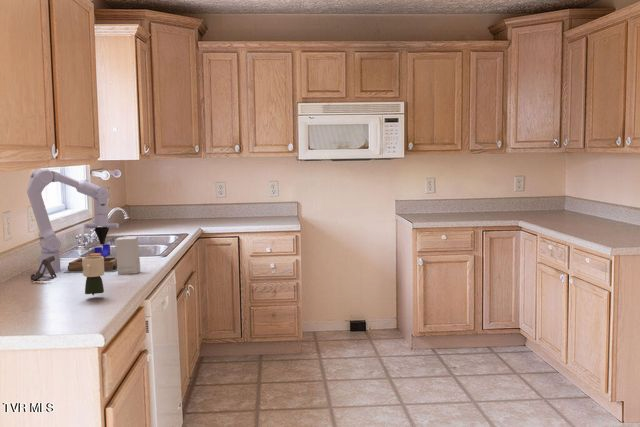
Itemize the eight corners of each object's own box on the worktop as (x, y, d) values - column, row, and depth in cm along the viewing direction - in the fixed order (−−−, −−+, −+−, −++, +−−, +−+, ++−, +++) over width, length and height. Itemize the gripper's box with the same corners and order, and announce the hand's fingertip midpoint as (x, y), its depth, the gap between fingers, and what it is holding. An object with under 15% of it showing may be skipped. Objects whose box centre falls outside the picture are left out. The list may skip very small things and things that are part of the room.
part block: (98, 266, 262) (98, 254, 262) (89, 266, 262) (88, 254, 262) (101, 264, 266) (101, 253, 266) (92, 264, 266) (91, 253, 266)
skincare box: (140, 271, 257) (139, 236, 256) (136, 274, 251) (135, 238, 250) (120, 271, 257) (119, 236, 255) (116, 274, 251) (114, 238, 249)
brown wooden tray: (114, 270, 258) (114, 262, 258) (66, 271, 257) (66, 263, 257) (123, 264, 272) (123, 256, 272) (78, 265, 271) (77, 257, 271)
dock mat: (114, 271, 256) (114, 271, 256) (64, 272, 255) (64, 272, 255) (125, 265, 272) (125, 264, 272) (77, 266, 271) (77, 265, 271)
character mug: (90, 291, 218) (88, 255, 217) (110, 290, 218) (108, 254, 217) (78, 298, 208) (76, 260, 206) (99, 297, 207) (97, 259, 206)
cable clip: (101, 256, 301) (100, 244, 301) (110, 256, 301) (109, 244, 301) (91, 260, 289) (91, 247, 289) (101, 260, 289) (100, 247, 289)
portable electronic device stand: (39, 276, 249) (37, 256, 248) (58, 276, 249) (57, 255, 248) (30, 280, 240) (29, 259, 239) (51, 280, 240) (50, 259, 240)
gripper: (120, 213, 277) (121, 242, 278) (87, 213, 277) (88, 243, 278) (115, 214, 270) (116, 244, 271) (82, 214, 270) (83, 245, 271)
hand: (102, 244), depth 274 cm, fingers closed
